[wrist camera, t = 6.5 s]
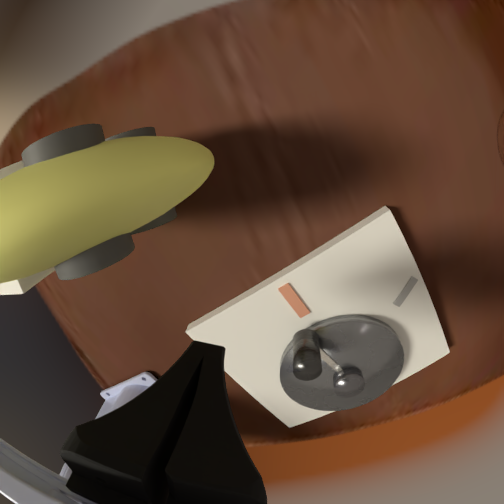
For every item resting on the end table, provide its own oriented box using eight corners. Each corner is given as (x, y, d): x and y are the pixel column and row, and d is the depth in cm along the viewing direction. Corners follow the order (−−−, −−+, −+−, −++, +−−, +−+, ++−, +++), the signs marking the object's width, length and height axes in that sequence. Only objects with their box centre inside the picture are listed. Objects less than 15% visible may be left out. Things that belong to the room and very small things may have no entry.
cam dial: (418, 362, 22) (433, 397, 18) (326, 415, 25) (328, 451, 21) (354, 281, 19) (368, 318, 16) (246, 355, 23) (240, 395, 19)
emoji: (74, 232, 22) (252, 188, 18) (-73, 327, 8) (109, 354, 4) (57, 175, 20) (234, 110, 17) (-104, 239, 6) (24, 60, 3)
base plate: (289, 420, 27) (289, 429, 26) (188, 324, 23) (184, 333, 22) (445, 345, 22) (450, 353, 21) (385, 205, 18) (390, 210, 17)
